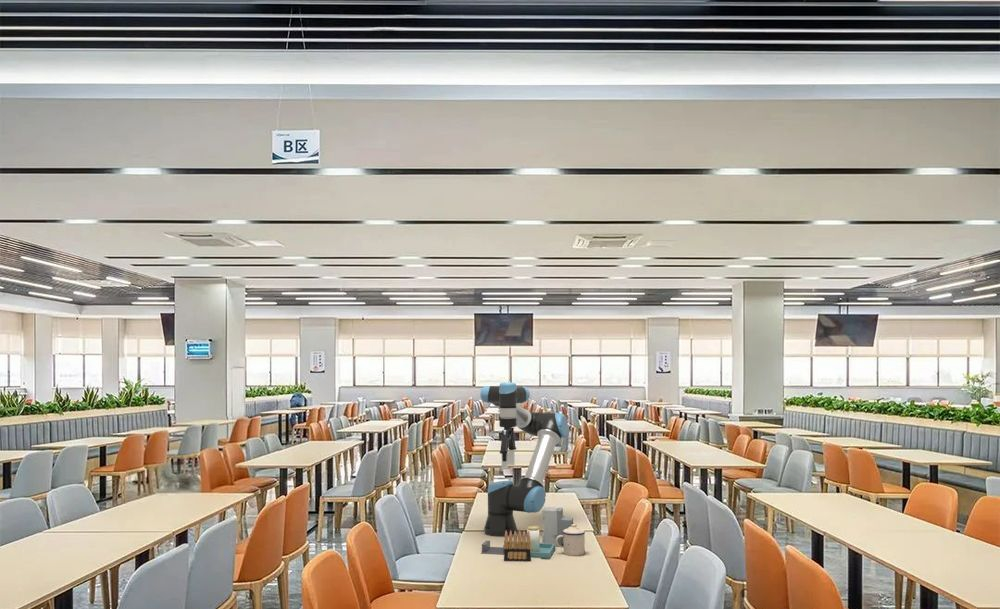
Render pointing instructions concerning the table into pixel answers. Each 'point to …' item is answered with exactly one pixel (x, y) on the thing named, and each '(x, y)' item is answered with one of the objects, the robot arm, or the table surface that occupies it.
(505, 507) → the robot arm
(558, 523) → the circuit breaker
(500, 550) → the grey square holder base
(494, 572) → the table surface
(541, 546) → the parts tray
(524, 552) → the ammunition clip
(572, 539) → the teacup with lid
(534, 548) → the cylinder
